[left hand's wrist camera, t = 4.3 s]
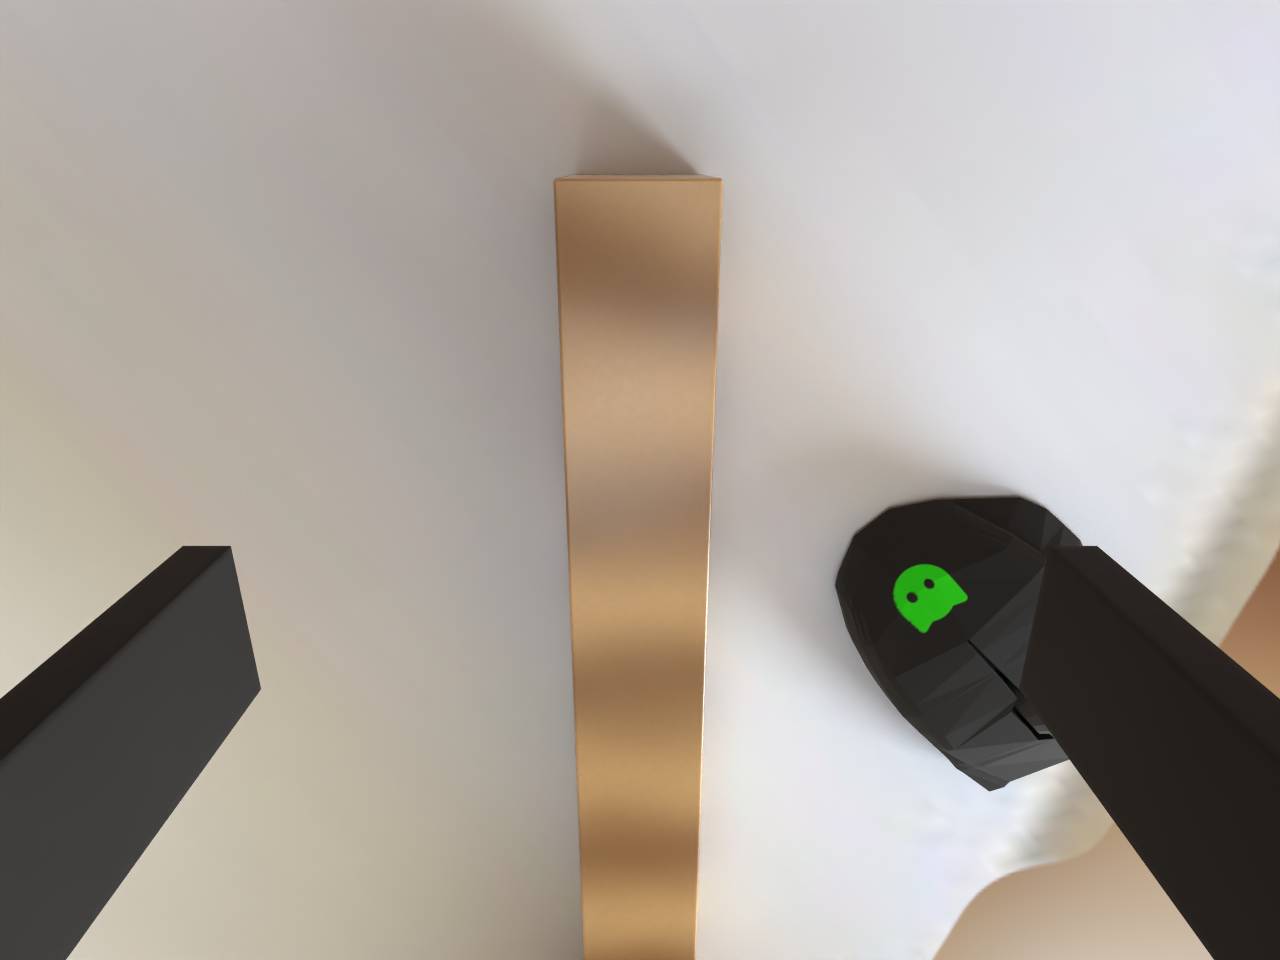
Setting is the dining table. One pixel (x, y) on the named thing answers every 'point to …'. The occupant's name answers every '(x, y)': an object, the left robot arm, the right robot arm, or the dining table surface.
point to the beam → (638, 540)
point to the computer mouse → (956, 625)
